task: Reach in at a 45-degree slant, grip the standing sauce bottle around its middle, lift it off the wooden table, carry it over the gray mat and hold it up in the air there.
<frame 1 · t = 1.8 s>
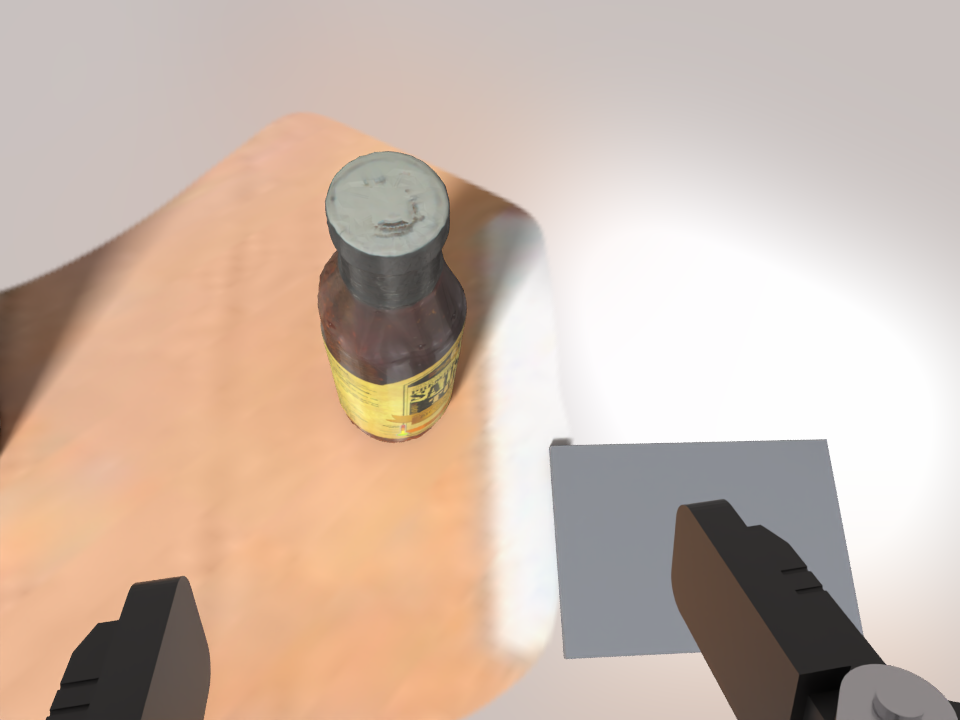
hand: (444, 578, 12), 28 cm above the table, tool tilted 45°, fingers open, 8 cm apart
gray mat: (700, 543, 41), on the table
sauce bottle: (397, 390, 43), on the table
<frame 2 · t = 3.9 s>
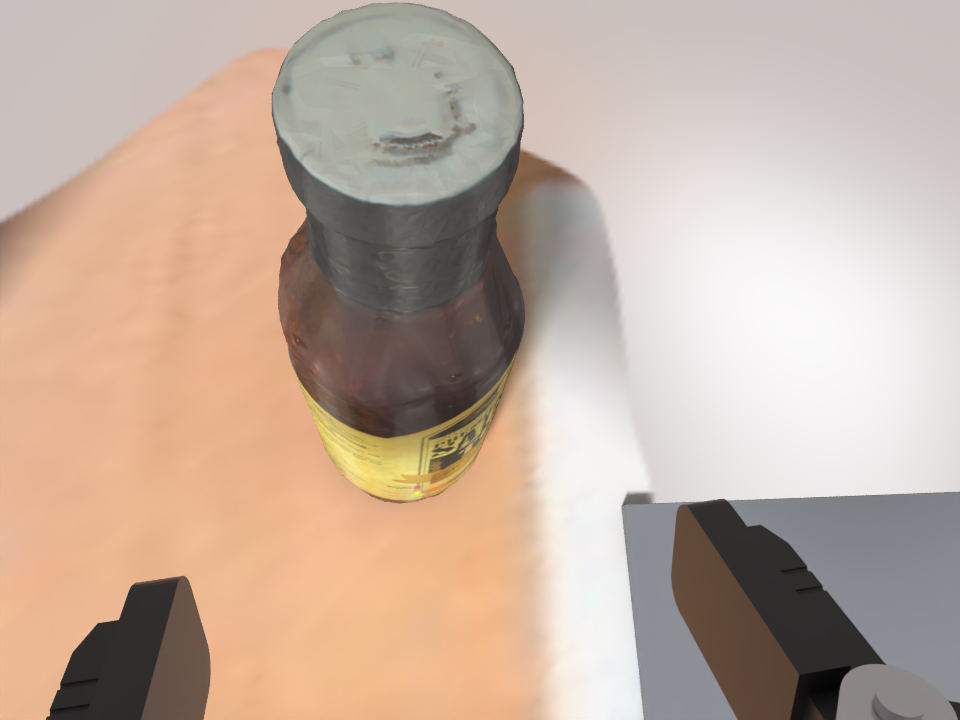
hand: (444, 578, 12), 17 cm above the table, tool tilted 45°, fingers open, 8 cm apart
gray mat: (840, 643, 29), on the table
sauce bottle: (406, 426, 31), on the table
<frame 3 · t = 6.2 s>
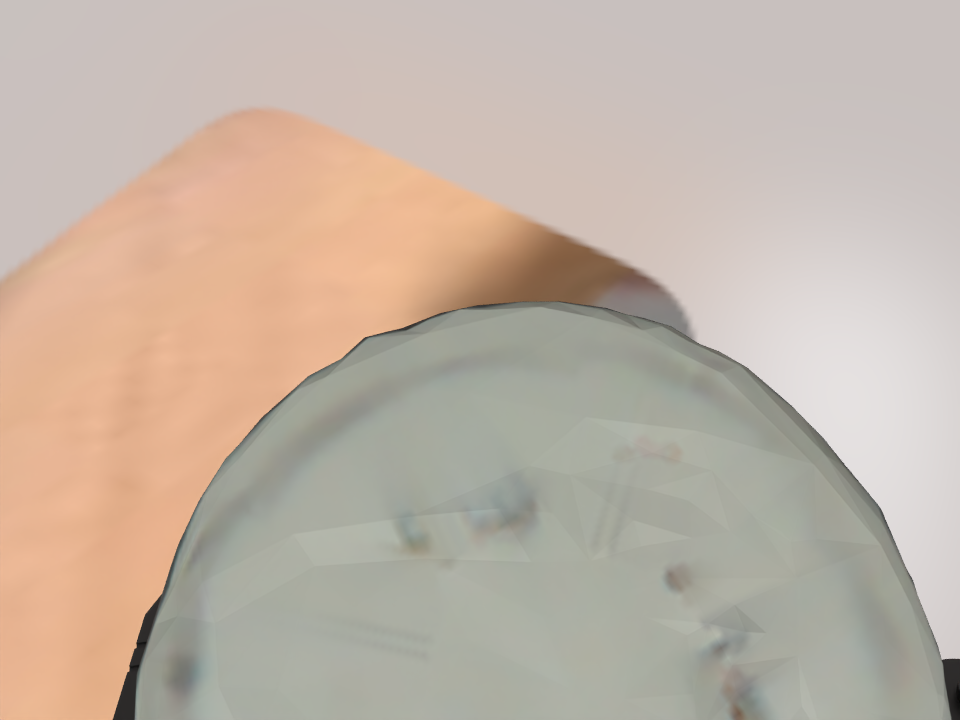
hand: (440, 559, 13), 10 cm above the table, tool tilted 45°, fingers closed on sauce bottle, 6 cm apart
sauce bottle: (435, 641, 22), on the table, touching gripper
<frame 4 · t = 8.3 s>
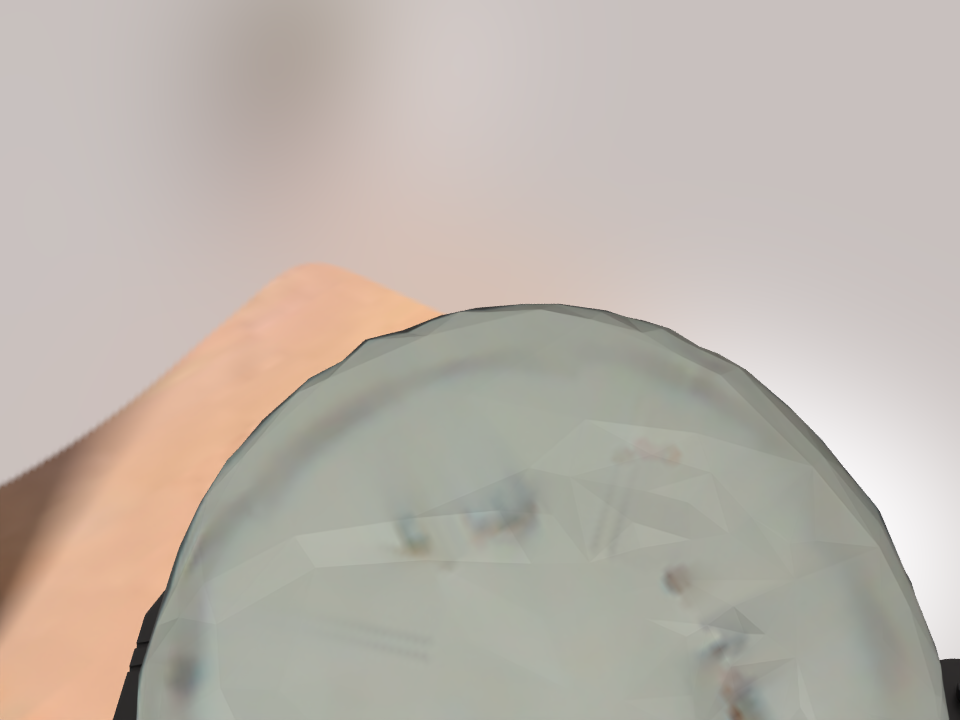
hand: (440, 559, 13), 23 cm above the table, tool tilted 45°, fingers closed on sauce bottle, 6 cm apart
sauce bottle: (435, 641, 22), point 13 cm above the table, touching gripper
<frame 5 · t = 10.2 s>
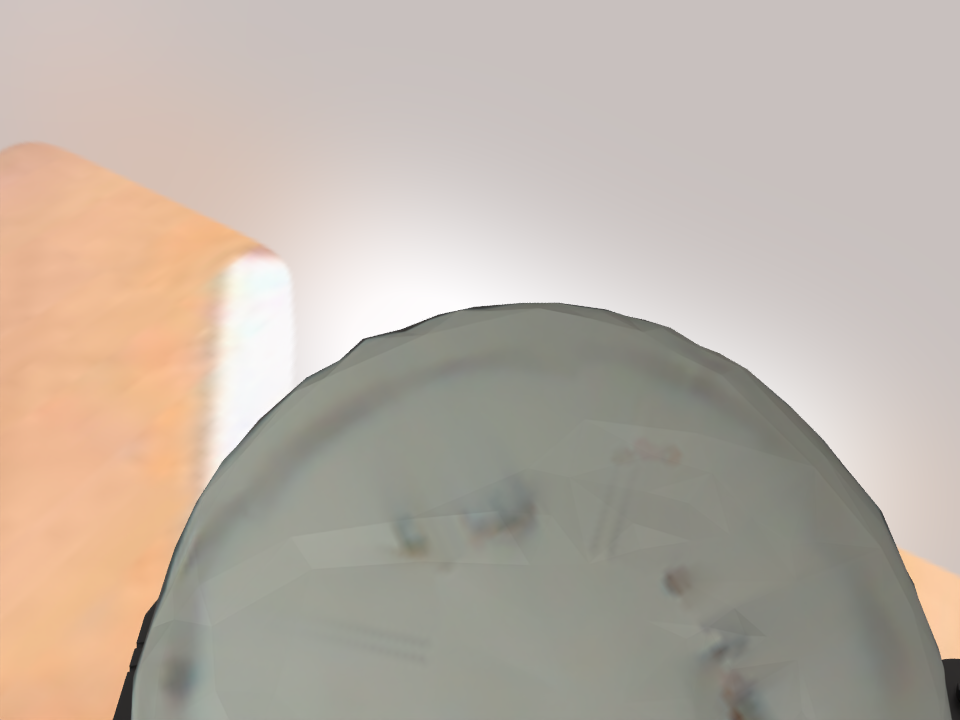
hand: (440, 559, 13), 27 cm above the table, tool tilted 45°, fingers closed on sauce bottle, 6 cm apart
sauce bottle: (435, 642, 22), point 16 cm above the table, touching gripper
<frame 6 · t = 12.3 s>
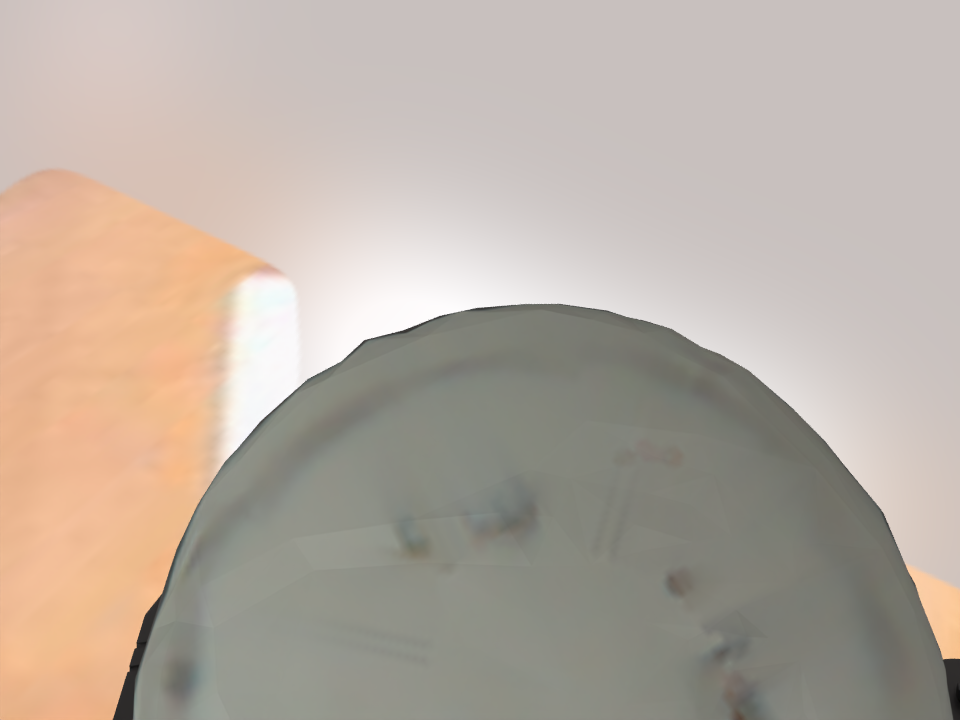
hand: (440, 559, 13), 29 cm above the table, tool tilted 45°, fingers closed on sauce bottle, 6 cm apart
sauce bottle: (435, 642, 22), point 19 cm above the table, touching gripper
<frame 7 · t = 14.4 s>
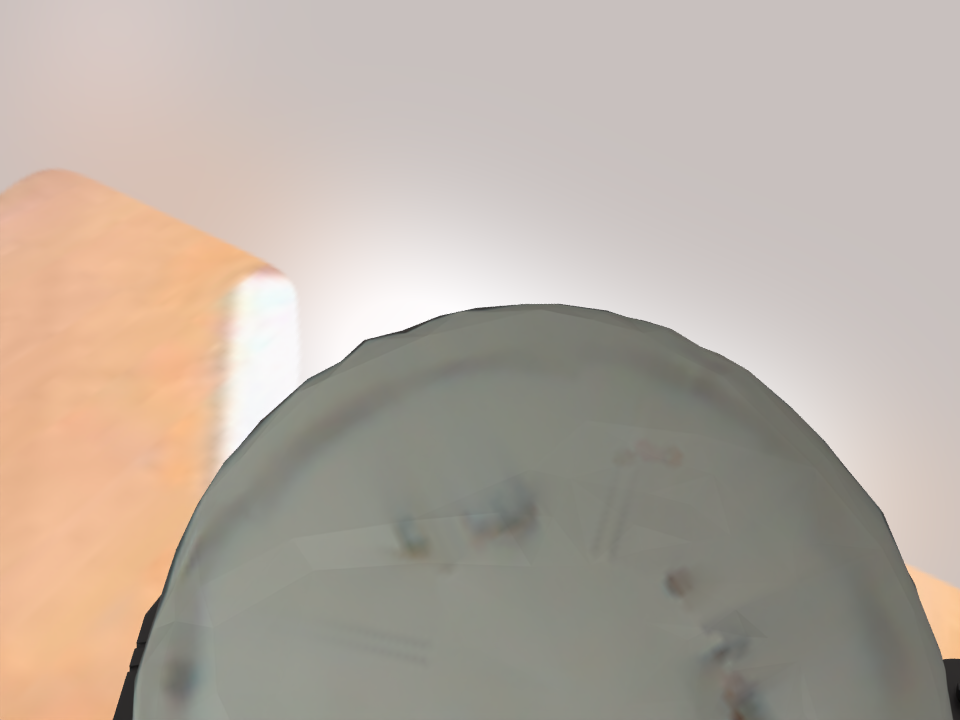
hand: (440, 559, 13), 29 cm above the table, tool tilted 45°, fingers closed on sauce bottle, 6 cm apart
sauce bottle: (435, 642, 22), point 19 cm above the table, touching gripper
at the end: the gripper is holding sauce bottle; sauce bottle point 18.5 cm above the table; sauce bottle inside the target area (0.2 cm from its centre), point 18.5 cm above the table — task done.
